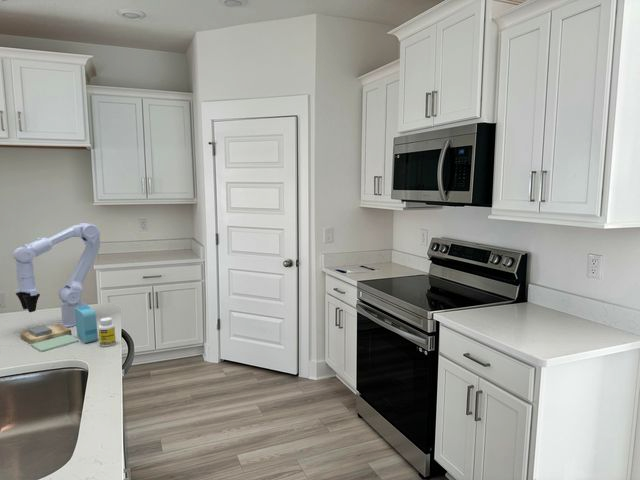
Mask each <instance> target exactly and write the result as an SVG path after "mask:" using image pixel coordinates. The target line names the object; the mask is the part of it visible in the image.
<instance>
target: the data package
mask: <svg viewBox="0 0 640 480" xmlns="http://www.w3.org/2000/svg"><path fill="white" fill-rule="evenodd" d="M75 318H76V325H75V326H76V335H77V337H78V338H79V340H81V342H83V343H84V344H86V343H91V342H95V341H99V340H98V339H99V338H98V337H99V333H98V325H97V314H96V311H95V309H93V308H92V307H90V306H89V305H88V304H87V306H81V307H76V308H75Z"/></svg>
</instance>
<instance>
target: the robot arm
mask: <svg viewBox="0 0 640 480" xmlns="http://www.w3.org/2000/svg"><path fill="white" fill-rule="evenodd" d="M100 234H101V230H99V228H98V226H97V225H96V224H93V223H87V222H80V223H78V224H75V225H71V226H70V227H68V228H66V229H64V230H61V231H60V232H58V233H56V234H54V235H53V236H50V237H48V238H47V237H38V238H36V240H35V241H32V242H31V243H26V244H24V246H20V247H19V246H18V248H15V250H14V251H13V254H12V257H13V258H14V260H15V270H16V279H17V288H16V289H14V292H15V296H16V297H17V298H18V300H19V302H20V304H21V308H22V309H23V310H24V311H25V310H28V313H33V312H36V311H37V304H38V300H39V298H40V296H41V294H40V293H37V292H38V291H37V286H36V281H35V272H34V265H33V260H34V258H36V257H39V256H41V255H43V254H45V253H48V252H50V251H52V249H53V247H54V246H55V245H57V244H59V243H62V242H64V241H67V240H68V239H71V238H81V240H82V241H83V243H84V245H85V247H84V250H83V251H82V254H81V256H80V258H79V259H78V262H77V264H76V266H75V268H74V270H73V272H72V274H71V276H70V279H69V280H67V282H66V283H65V284H64V286H63V287H61V288H60V289H59V291H58V298H59V299H60V300H61V302H60V310H61V319H62V322H58V324H60V325H62V326H64V327H66V328H71V327H75V326H76V318H75V308H76V307H81V306H87V305H88V304H87V303H86V301H84V300H82V292H83V283H84V282H85V280H86V278H87V276H88V274H89V272H90V270H91V268H92V265H93V263H94V261H95V258H96V257H97V255H98V252H99V250H100V248H101V237H100ZM81 300H82V301H81Z"/></svg>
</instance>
